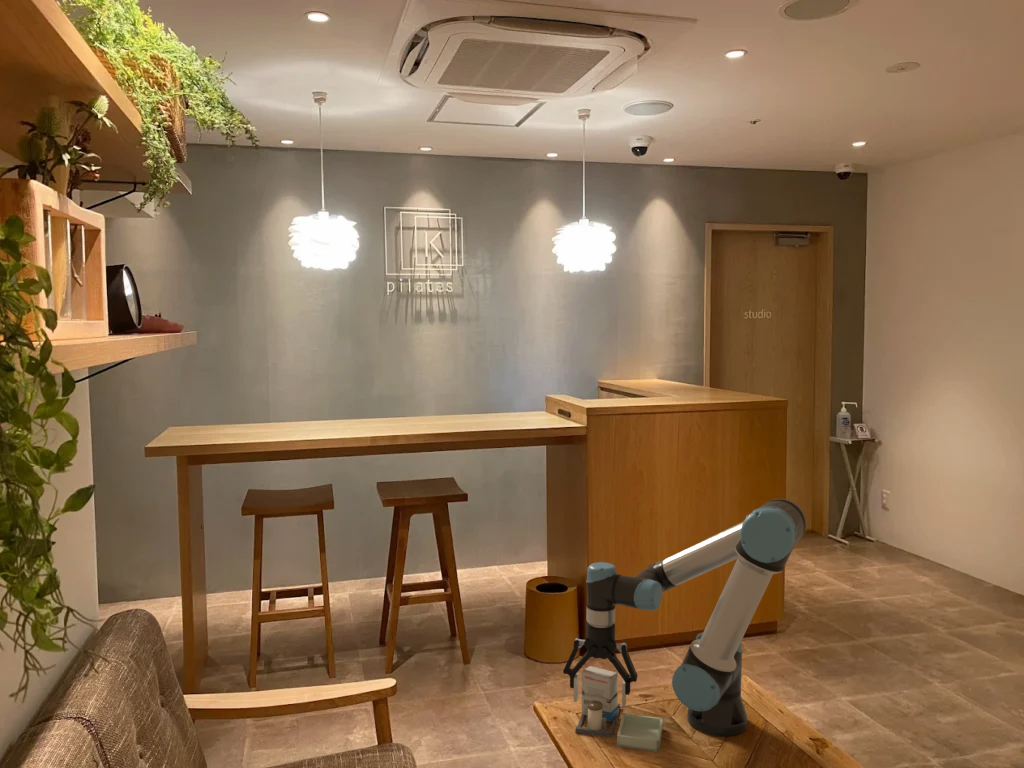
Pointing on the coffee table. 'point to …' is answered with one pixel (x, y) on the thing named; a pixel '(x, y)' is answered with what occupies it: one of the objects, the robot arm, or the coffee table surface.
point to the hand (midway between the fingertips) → (599, 702)
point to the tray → (640, 732)
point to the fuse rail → (597, 732)
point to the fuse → (595, 715)
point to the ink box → (600, 691)
